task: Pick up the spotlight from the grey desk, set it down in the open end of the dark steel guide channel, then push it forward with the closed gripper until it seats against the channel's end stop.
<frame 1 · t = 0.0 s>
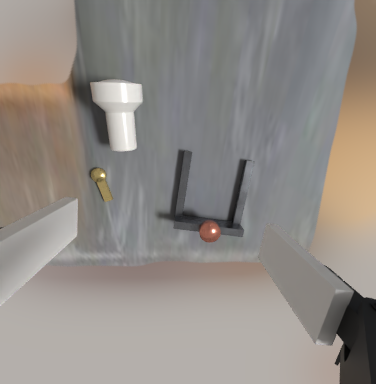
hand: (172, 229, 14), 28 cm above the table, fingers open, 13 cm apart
channel: (212, 189, 42), on the table
spotlight: (125, 115, 39), on the table
brass key: (105, 188, 42), on the table
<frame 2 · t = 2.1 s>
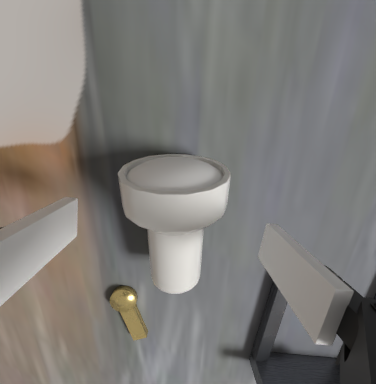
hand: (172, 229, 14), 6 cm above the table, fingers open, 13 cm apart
channel: (321, 314, 24), on the table
spotlight: (176, 204, 20), on the table
brass key: (134, 316, 24), on the table
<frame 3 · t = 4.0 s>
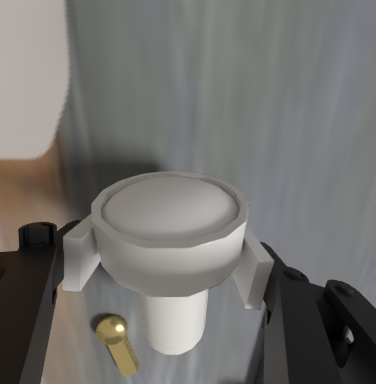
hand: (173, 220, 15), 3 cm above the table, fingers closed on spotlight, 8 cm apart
spotlight: (175, 232, 16), point 2 cm above the table, touching gripper
brass key: (123, 348, 21), on the table
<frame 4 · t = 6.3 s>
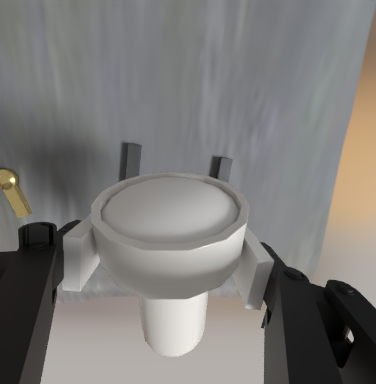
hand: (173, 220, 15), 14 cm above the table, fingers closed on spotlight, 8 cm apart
channel: (174, 199, 30), on the table
spotlight: (175, 233, 16), point 14 cm above the table, touching gripper
brass key: (19, 198, 29), on the table
when the fingers open (2 cm above the table, at t = 8.5 s): spotlight stays where it is, resting on channel.
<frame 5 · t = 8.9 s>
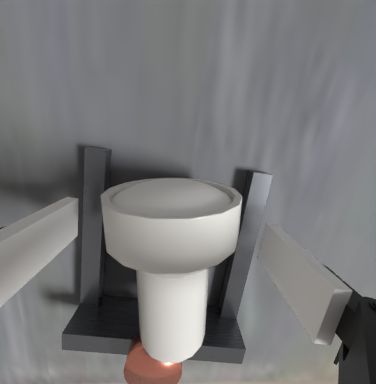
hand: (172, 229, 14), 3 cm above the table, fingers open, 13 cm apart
channel: (170, 239, 18), on the table
spotlight: (174, 238, 17), point 1 cm above the table, touching channel
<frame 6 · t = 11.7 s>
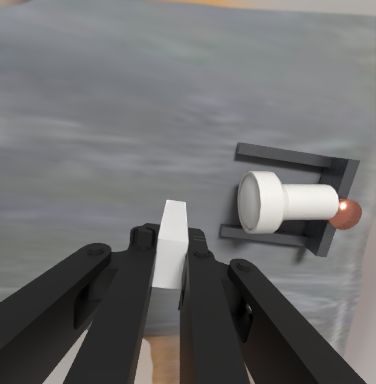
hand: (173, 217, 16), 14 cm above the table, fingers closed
channel: (272, 196, 31), on the table
spotlight: (272, 194, 30), point 1 cm above the table, touching channel
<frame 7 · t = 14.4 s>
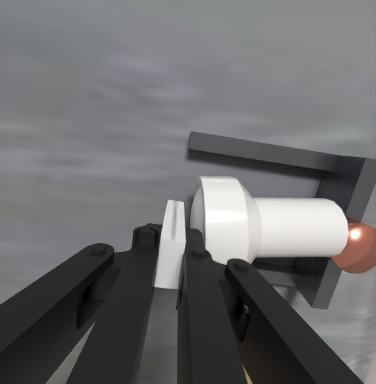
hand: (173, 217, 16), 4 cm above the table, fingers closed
channel: (247, 213, 21), on the table
spotlight: (245, 211, 20), point 1 cm above the table, touching channel, gripper
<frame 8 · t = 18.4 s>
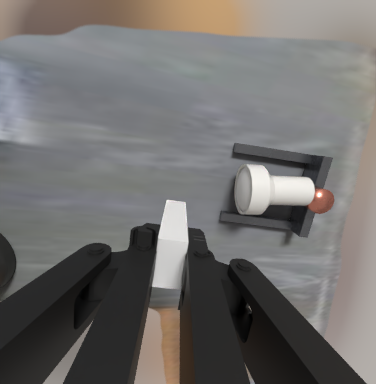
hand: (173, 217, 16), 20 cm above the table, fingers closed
channel: (263, 187, 37), on the table
spotlight: (263, 185, 36), point 1 cm above the table, touching channel
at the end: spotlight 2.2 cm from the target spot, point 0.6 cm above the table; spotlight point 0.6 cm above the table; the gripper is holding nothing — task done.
